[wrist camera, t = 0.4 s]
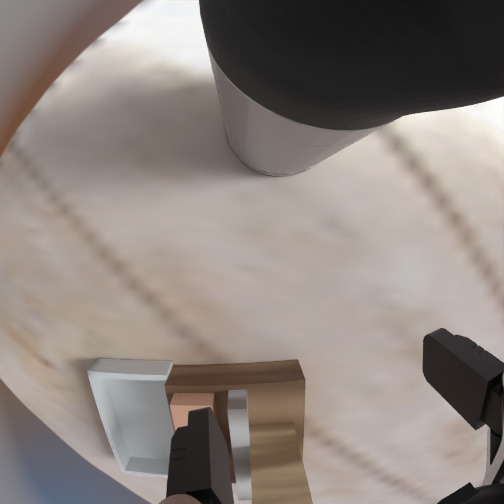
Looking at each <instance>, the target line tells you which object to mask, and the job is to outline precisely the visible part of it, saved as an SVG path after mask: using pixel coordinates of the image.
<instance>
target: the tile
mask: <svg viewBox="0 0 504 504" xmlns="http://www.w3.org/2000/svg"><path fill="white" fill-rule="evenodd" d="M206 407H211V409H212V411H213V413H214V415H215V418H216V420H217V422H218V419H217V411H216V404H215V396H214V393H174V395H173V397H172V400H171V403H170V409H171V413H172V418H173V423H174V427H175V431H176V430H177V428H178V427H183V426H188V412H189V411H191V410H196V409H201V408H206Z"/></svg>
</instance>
